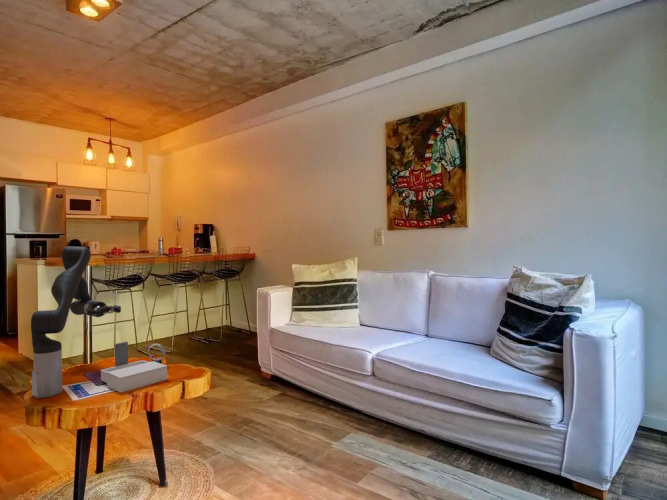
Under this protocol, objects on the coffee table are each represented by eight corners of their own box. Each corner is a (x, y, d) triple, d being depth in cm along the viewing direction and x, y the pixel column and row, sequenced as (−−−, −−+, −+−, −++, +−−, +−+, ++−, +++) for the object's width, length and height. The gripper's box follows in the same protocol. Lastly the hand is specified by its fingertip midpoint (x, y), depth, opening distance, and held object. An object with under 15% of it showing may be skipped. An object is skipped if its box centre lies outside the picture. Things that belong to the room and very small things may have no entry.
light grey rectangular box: (120, 392, 162) (120, 377, 162) (107, 386, 170) (106, 372, 170) (167, 379, 178) (167, 365, 178) (153, 374, 186) (153, 361, 186)
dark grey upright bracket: (112, 385, 169) (112, 351, 168) (99, 379, 177) (98, 346, 176) (155, 374, 183) (154, 342, 183) (141, 368, 191) (140, 338, 191)
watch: (166, 367, 196) (165, 344, 196) (147, 369, 193) (147, 346, 193) (165, 363, 202) (165, 341, 201) (147, 366, 198) (147, 343, 198)
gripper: (79, 302, 194) (93, 305, 184) (110, 299, 205) (125, 301, 195) (79, 318, 194) (93, 322, 184) (110, 314, 206) (125, 317, 195)
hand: (110, 311), depth 190 cm, fingers open, 8 cm apart
